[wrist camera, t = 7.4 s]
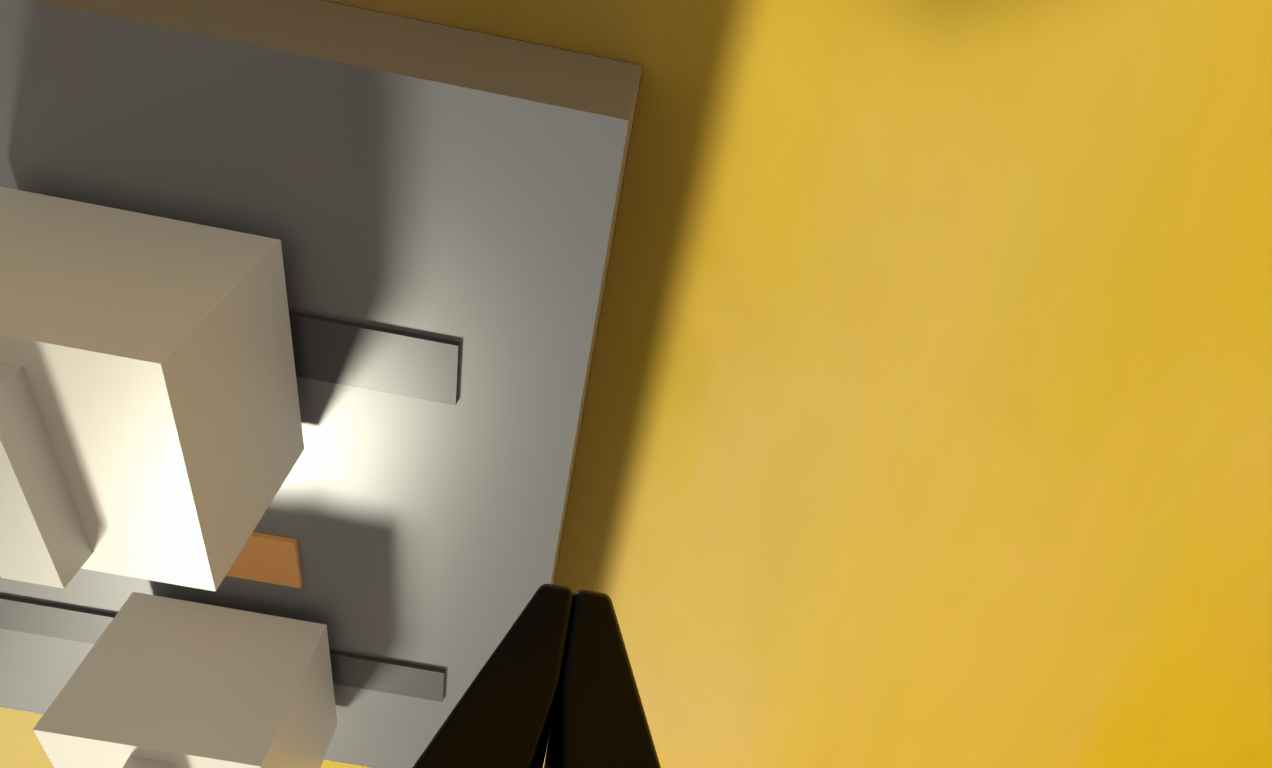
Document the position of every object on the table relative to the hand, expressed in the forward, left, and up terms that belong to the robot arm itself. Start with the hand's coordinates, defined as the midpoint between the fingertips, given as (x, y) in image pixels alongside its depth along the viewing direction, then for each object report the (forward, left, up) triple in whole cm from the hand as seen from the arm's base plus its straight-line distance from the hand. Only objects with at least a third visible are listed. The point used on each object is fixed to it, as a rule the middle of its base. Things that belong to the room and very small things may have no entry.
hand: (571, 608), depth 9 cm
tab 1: (-7, 0, -4) cm, 8 cm away
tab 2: (-7, -9, -4) cm, 12 cm away
